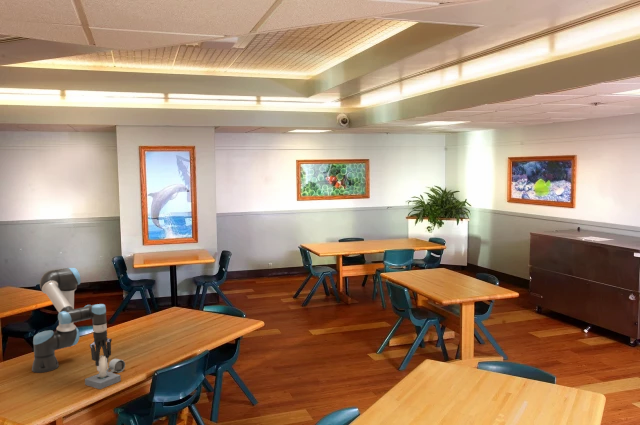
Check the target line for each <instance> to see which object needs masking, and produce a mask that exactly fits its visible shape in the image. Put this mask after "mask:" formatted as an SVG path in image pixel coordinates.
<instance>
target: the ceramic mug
mask: <svg viewBox="0 0 640 425" xmlns="http://www.w3.org/2000/svg"><path fill="white" fill-rule="evenodd" d="M125 368H126V362H125V361H124V359H119V358H113V359H111V360H110V361H108V369H106V371H107V372H111V373H117V374H118V373H122V372H123V371H124V370H125Z"/></svg>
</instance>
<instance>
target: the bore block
mask: <svg viewBox="0 0 640 425" xmlns="http://www.w3.org/2000/svg"><path fill="white" fill-rule="evenodd" d="M121 376H122V375H120V374H118V373H117V374H116V373H115V372H113V373H111V372H110V371H108V372H107V371H106V377H102V378H100V377H99V373H97V374H94V375H90V376H89V377H87V378H84V385H85V386H87V387H92V388H93V389H97V390H102V389H104V388H107V387H110V386H112V385H115V384H117V383H119V382H121V381H122V380H121Z"/></svg>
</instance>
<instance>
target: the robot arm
mask: <svg viewBox="0 0 640 425" xmlns="http://www.w3.org/2000/svg"><path fill="white" fill-rule="evenodd" d="M81 279H82V278H81V275H80V272H79V271H78V269H77V268H76V267H67V268H60V269H52V270H48V271H47V272H45V273H44V274H43V275H42V276H41V278H40V281H39V287H40V290H41V292H42V293H43V294H45V295H46V296H47V298H48V299H49V300H50V301H51V303H52V305H53V306H54V308H55V309H56V311H57V312H58V314H57V319H58V325H57V326H56V331H53V330H51V329H49V330H44V331H41V332H38V333H36V334H35V335H34V336H33V341H32V344H33V354H34V355H33V356H34V359H33V362H32V365H31V372H33V373H37V374H38V373H47V372H51V371H53V370H56V369H58V368H59V361H58V358H57V357H56V352H55V351H57V350H61V349H66V348H70V347H73V346H75V345H77V344H78V342H79V340H80V330H79V329H78V327H77V326H76V325H75V324H74V323H77V322H78V323H79V322H81V321H86V320H92V332H93V333H92V334H93V342H92V343H90V344H89V348H90V351H91V352H90V353H91V360H92V361H95V363H94V364H95V366H96V371H97V372H99V371H101V362H100V360H99V356H101V355H100V354H101V349H102V352H103V355H105V359H106V370H107V369H108V368H109V358H110V356H111V355H112V341H113V340H112V338H108V330H107V329H108V327H107V324H108V323H107V308H106V307H107V306H106V304H104V303H99V304H98V303H97V304H92V305H91V304H87V305H86V304H85V306H84V307H78V308H75V291H76V290H77V288H78V286H79V285H81V281H82V280H81Z"/></svg>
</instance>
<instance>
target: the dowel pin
mask: <svg viewBox="0 0 640 425" xmlns="http://www.w3.org/2000/svg"><path fill="white" fill-rule="evenodd" d="M99 360H100V362H101V371H98V374H99V377H100V378H102V377H106V370H107V369H106V359H105V355H104V354H102V355H100V356H99Z"/></svg>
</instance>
